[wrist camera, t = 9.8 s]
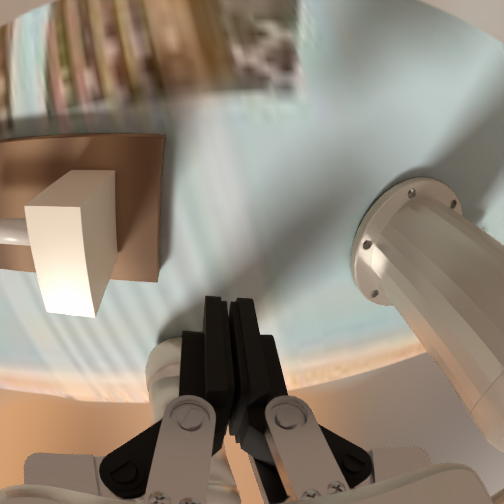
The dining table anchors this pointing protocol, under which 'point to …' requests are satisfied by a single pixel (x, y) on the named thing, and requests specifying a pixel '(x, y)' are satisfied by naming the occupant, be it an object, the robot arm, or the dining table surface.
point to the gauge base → (90, 158)
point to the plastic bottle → (167, 388)
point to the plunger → (70, 239)
